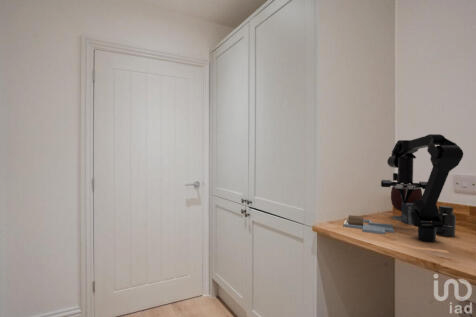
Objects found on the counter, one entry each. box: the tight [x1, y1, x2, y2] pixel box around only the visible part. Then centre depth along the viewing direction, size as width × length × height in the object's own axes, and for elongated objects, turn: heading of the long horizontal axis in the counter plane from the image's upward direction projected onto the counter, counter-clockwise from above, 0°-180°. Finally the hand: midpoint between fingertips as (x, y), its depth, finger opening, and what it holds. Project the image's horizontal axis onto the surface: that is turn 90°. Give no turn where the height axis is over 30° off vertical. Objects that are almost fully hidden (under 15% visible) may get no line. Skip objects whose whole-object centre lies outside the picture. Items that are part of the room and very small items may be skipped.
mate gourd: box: [390, 186, 423, 222], centre depth 141 cm, size 16×14×20 cm
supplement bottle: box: [436, 205, 457, 238], centre depth 115 cm, size 7×7×12 cm
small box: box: [400, 203, 429, 226], centre depth 129 cm, size 11×6×10 cm, turn 84°
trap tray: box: [342, 219, 395, 235], centre depth 122 cm, size 20×19×2 cm
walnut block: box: [347, 214, 364, 226], centre depth 125 cm, size 5×6×4 cm
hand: (404, 204), depth 119 cm, fingers closed
